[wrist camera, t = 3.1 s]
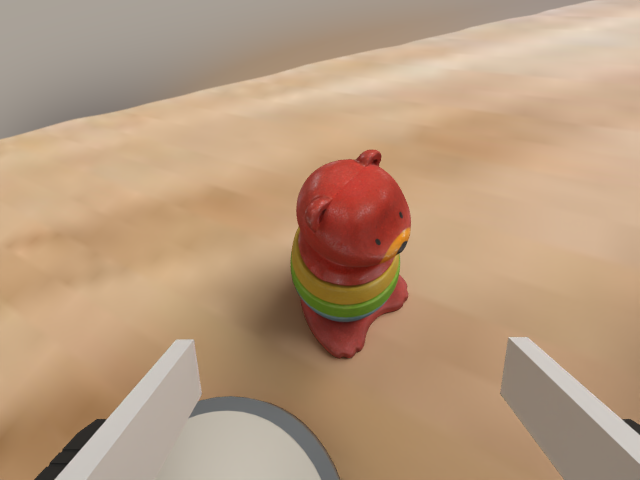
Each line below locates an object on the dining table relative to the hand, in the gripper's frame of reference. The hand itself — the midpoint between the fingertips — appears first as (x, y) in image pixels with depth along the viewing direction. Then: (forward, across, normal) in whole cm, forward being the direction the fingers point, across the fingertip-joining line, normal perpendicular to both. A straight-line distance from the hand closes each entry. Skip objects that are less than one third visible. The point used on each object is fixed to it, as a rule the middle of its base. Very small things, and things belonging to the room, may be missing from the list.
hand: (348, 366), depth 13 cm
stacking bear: (+19, +1, -5) cm, 19 cm away
